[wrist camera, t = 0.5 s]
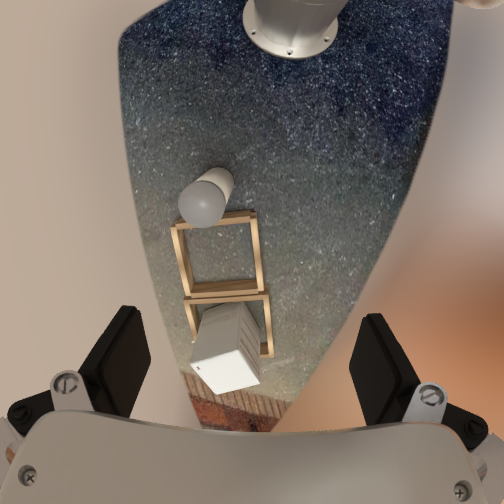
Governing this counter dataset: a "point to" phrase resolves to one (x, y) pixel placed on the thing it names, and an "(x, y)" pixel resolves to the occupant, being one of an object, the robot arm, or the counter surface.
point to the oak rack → (225, 289)
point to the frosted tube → (206, 198)
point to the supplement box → (227, 348)
